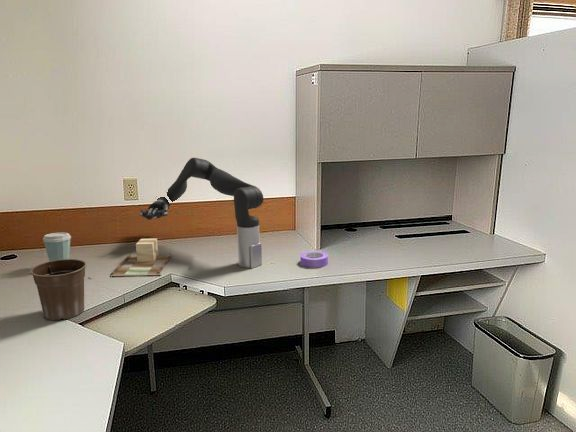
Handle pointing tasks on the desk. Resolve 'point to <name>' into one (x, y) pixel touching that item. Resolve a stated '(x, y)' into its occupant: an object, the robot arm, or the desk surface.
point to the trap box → (140, 267)
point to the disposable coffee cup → (57, 245)
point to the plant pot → (60, 287)
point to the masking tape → (314, 259)
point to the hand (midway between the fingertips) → (148, 217)
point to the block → (147, 250)
